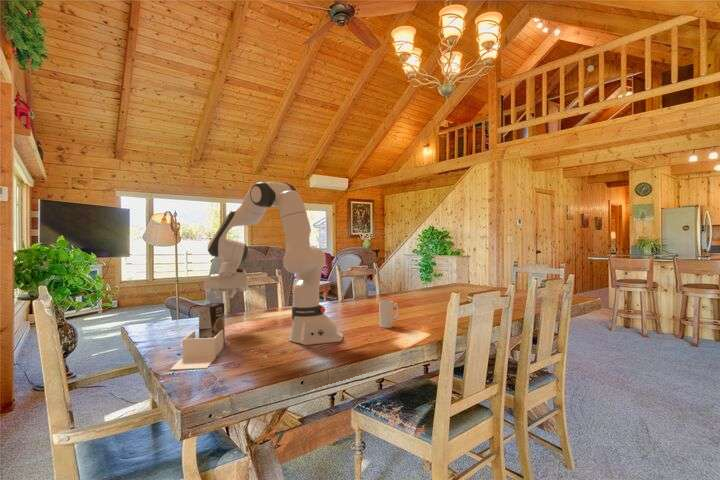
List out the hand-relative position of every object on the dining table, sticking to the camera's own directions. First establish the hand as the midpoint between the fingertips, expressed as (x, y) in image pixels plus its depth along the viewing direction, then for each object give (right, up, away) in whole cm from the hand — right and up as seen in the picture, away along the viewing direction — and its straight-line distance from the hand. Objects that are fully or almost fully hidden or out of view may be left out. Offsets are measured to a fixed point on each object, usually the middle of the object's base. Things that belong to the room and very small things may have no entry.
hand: (224, 297), depth 182 cm
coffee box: (+3, -16, -22) cm, 27 cm away
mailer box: (+5, -16, -40) cm, 43 cm away
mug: (+77, -15, +5) cm, 79 cm away
